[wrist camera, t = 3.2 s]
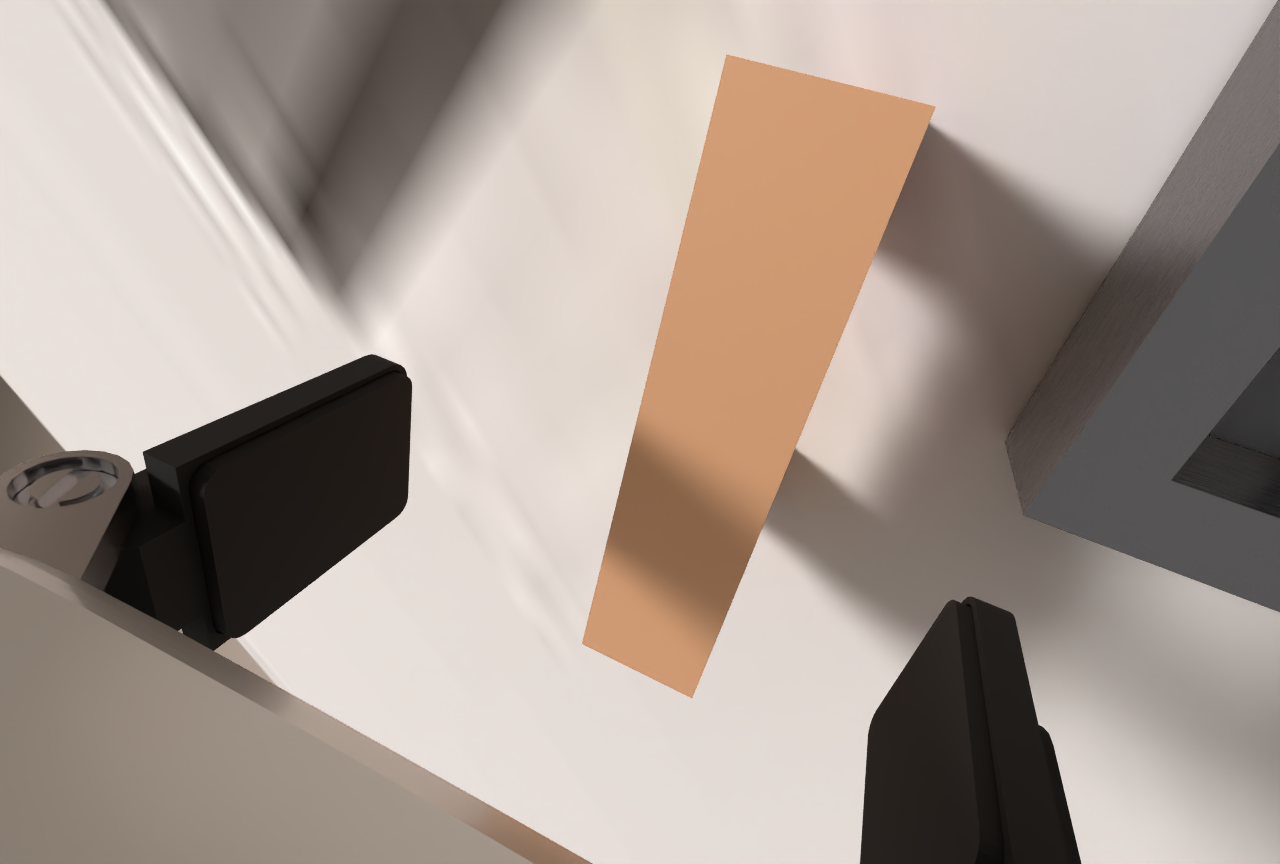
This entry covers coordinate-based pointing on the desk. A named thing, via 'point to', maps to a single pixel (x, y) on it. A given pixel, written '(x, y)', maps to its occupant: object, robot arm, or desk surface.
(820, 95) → the tan block
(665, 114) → the desk surface
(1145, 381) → the dark gray slotted block
